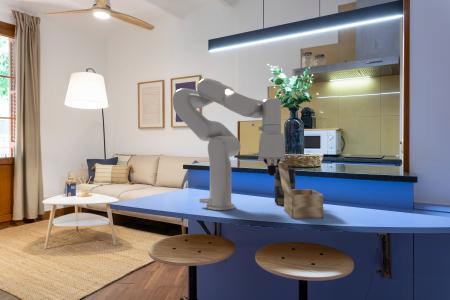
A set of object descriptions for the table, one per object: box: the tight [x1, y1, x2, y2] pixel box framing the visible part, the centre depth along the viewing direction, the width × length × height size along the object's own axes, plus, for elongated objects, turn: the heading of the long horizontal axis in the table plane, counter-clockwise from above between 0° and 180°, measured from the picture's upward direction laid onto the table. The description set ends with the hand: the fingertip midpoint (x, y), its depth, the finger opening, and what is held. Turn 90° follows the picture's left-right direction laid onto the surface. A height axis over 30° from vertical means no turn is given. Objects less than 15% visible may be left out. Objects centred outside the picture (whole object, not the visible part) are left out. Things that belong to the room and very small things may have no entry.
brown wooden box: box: [283, 188, 324, 219], centre depth 131 cm, size 12×14×9 cm
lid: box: [277, 161, 292, 195], centre depth 130 cm, size 12×14×1 cm
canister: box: [274, 165, 296, 206], centre depth 151 cm, size 10×10×18 cm
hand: (271, 175), depth 130 cm, fingers closed
